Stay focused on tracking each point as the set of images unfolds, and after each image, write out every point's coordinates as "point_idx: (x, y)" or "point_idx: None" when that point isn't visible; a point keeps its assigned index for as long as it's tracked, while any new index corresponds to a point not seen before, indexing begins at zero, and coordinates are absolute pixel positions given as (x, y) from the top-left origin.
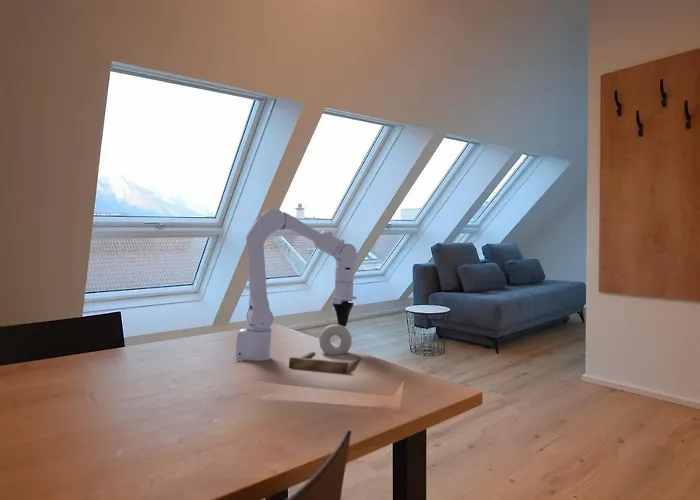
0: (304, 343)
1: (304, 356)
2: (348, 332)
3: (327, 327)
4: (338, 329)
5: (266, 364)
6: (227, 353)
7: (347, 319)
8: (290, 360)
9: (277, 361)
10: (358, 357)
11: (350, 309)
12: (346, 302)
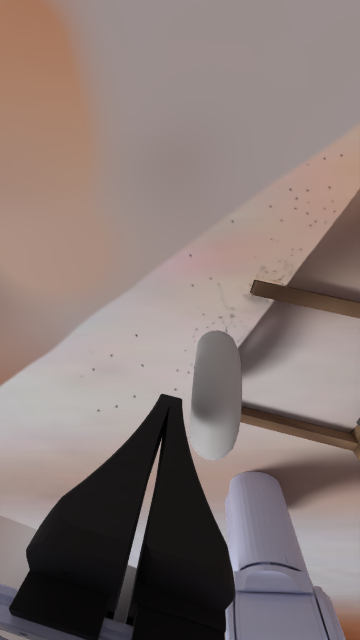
0: (55, 420)
1: (276, 427)
2: (230, 369)
3: (224, 456)
4: (240, 417)
5: (321, 475)
6: (218, 520)
7: (158, 417)
8: None
9: (287, 461)
10: (274, 295)
11: (119, 475)
12: (99, 606)
